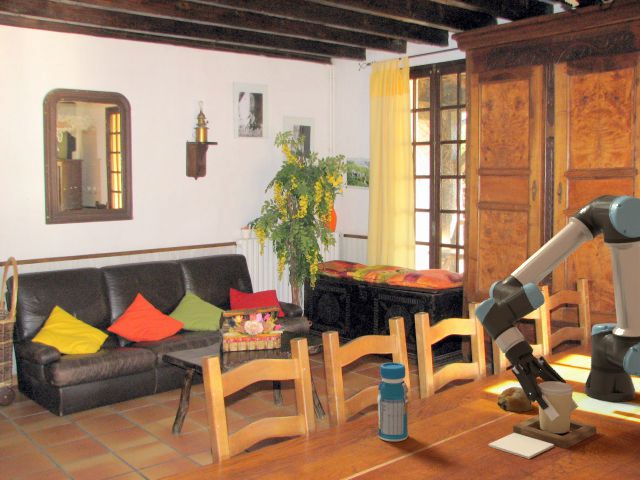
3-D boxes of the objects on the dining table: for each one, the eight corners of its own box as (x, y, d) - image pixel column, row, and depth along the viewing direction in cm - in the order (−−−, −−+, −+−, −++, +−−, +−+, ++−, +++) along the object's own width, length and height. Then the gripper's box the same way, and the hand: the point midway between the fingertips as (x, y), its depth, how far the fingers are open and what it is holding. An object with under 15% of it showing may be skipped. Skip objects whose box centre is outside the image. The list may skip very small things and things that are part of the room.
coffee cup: (572, 424, 205) (573, 382, 204) (572, 436, 197) (573, 392, 195) (537, 421, 208) (538, 379, 207) (536, 432, 200) (536, 389, 199)
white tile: (514, 434, 202) (514, 432, 202) (553, 446, 193) (553, 444, 193) (488, 446, 194) (488, 443, 194) (528, 459, 185) (528, 456, 185)
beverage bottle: (388, 444, 196) (388, 371, 194) (371, 434, 203) (371, 363, 201) (414, 439, 199) (414, 366, 198) (397, 429, 207) (397, 359, 205)
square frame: (544, 419, 214) (544, 412, 214) (596, 433, 202) (596, 426, 202) (513, 433, 203) (513, 426, 203) (566, 448, 191) (566, 441, 191)
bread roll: (526, 424, 220) (539, 401, 219) (495, 408, 222) (507, 386, 220) (524, 414, 230) (536, 392, 229) (494, 398, 231) (505, 376, 230)
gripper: (527, 347, 219) (576, 411, 209) (484, 361, 205) (534, 431, 195) (543, 332, 215) (594, 397, 205) (500, 346, 200) (553, 416, 190)
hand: (565, 413), depth 200 cm, fingers closed on coffee cup, 9 cm apart
